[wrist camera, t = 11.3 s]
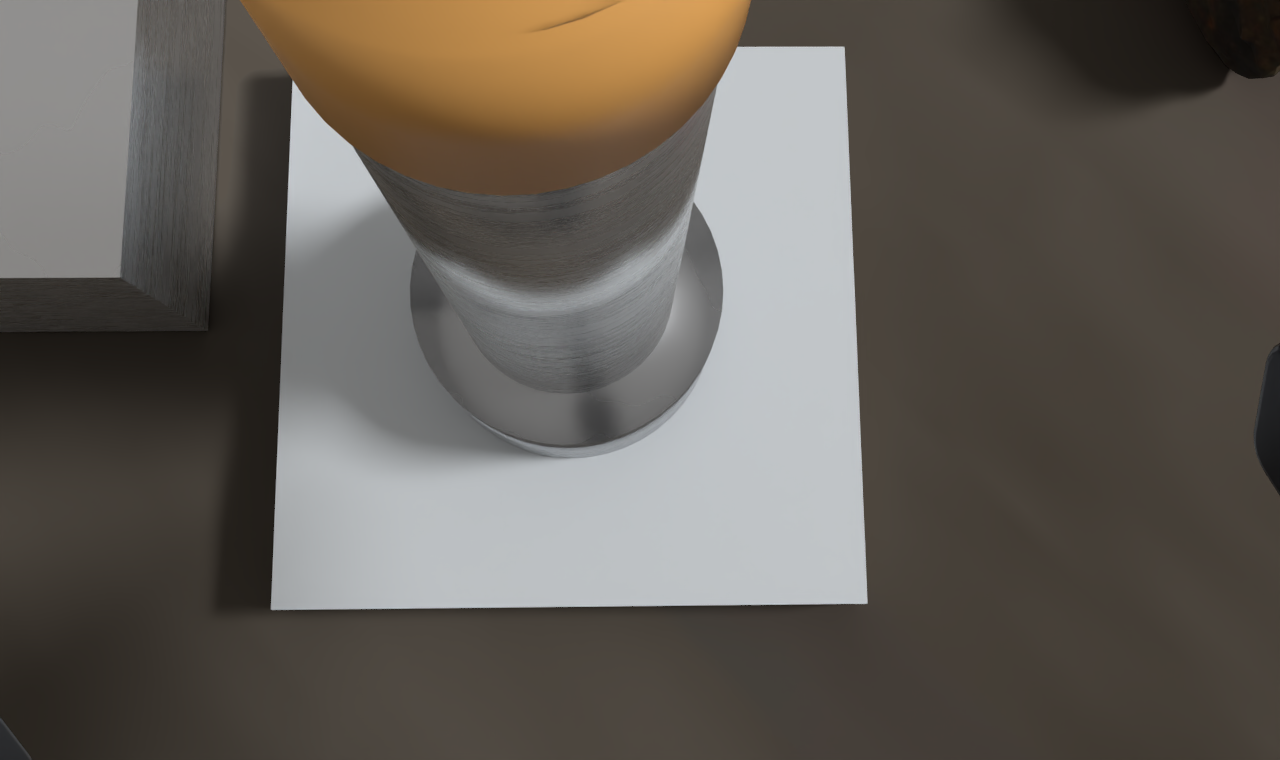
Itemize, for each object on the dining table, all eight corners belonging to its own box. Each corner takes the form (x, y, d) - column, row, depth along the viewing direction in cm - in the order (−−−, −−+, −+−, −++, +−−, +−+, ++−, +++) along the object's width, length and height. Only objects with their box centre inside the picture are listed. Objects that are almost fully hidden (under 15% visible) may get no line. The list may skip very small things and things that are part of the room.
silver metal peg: (670, 491, 18) (797, 293, 5) (396, 415, 18) (-128, 40, 5) (742, 225, 19) (1009, -513, 6) (478, 153, 19) (187, -726, 6)
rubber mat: (854, 602, 19) (867, 603, 18) (289, 608, 19) (271, 610, 18) (833, 72, 20) (844, 46, 19) (309, 72, 20) (293, 47, 19)
